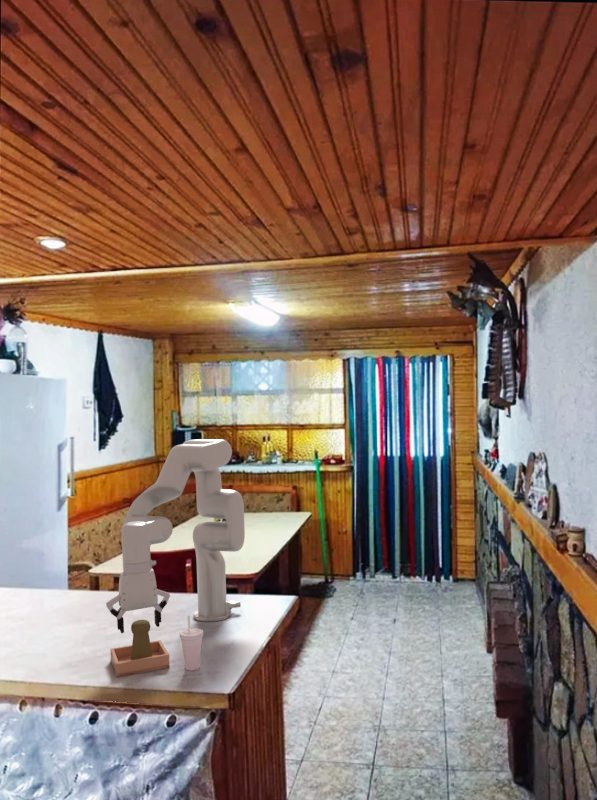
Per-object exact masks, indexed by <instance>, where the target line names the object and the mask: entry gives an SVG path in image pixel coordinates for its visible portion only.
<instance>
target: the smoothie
mask: <svg viewBox="0 0 597 800" xmlns="http://www.w3.org/2000/svg"><path fill="white" fill-rule="evenodd" d="M203 636H204V630H203V629H202V628H198V627H197V628H196V627H191V616H190V615H187V628H186V629H183V630H182V629H181V631H180V632H179V638H180V641H181V642H180V643H181V646H182V647H181V648H182V654H183V661H184V668H185V670H186V671H196V670H199V668H200V664H201V653H202V641H203Z"/></svg>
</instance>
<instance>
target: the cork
mask: <svg viewBox="0 0 597 800" xmlns="http://www.w3.org/2000/svg"><path fill="white" fill-rule="evenodd" d="M130 631H131V633H132V641H131V642H132V644H131V645H132V652H131V660H136V659H141V658H147V657H152V651H151V645H150V642H151V640H150V635H149V633H150V631H151V623H150V621H149V620H147V619H137V620H135V621H133V622H132V624H131V626H130Z"/></svg>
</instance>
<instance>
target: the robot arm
mask: <svg viewBox="0 0 597 800" xmlns="http://www.w3.org/2000/svg"><path fill="white" fill-rule="evenodd" d="M232 452H233V451H232V446H231V444H230V443H229V442H228V441H227V440H226V439H222V438H221V439H219V438H218V439H214V438H211V439H203V438H202V439H201V438H199V439H190V440H189V439H188V440H186V441H183V443H181V444H177V445H174V446H173V447H172V448H171V449H170V450H169V453H168V454H167V457H166V459H165V462H164V464H163V466H162V468H161V471H160V472H159V475H158V477H157V480H156V481H155V483H154V484H151V486H149V487H148V488H146V489H145V490H144V491H143V492H142V493H140V494H139V495H138V496H137V497H136V498H135V499H134V500H133V501H132V503H131V505H130V507H129V509H128V511H127V513H126V516H125V518H124V521H123V523H122V526H121V529H120V531H121V553H122V555H121V557H122V571H121V572H120V574H119V580H118V594H117V595H116V596H114V597H113V598H111V599H110V600H109V601H107V602H105V605H106V608H107V609H108V611H109V612H110V614H111V615H112V616H114V617H115V618H116V619H117V620H116V622H117V623H116V624H117V625H116V626H117V630H119V632H120V633H121V634H124V633H125V627H124V626H125V624H124V623H125V622H124V620H125V619H124V617H123V616H124V614H125V613H126V612H127V611H128V612H130V611H135V610H141V609H147V608H154V624H155V626H156V627H157V628H158V627H160V623H162V612H163V610H164V608H165V607H166V605H168V601H169V599H170V597H171V594H170V592H169V591H168V592H167V591H165V590H161V589H158V588H157V586H158V585H157V580H156V575H155V571H154V569H153V567H154V566H156V565H157V560H153V559H152V558H151V557H152V556H151V546H152V545H157V544H158V545H159V544H162V543H165V542H166V541H168V540H169V539H170V538H171V536H172V535H173V531H174V529H173V527H174V526H173V523H172V522H171V520H170V519H168V518H167V517H164V516H156V515H154V516H153V515H148V514H149V513H150V512H151V511H152V510H153V509H155V508H156V507H159V506H160V505H163V504H165V503H168V502H170V501H173V500H175V499H177V498H179V497H180V496H182V494H183V492H184V490H185V488H186V485H187V483H188V479H189V478H190V475H191V473H194V476H195V477H194V478H195V486H196V487H195V489H196V491H195V492H196V510H197V513H198V515H199V516H201V517H203V518H209V519H210V518H211V519H225V521H214V520H213V521H208V520H207V521H202V522H199V523H197V524H196V525H195V526H194V528H193V531H192V542H193V546H194V551H195V557H196V559H195V560H196V581H197V582H196V585H197V610H195V611H194V612H193V619H195V620H197V621H199V622H208V623H209V622H218V621H223V620H226V619H228V618H230V617H231V616H232V609H234V608H235V609H236V608H241V601H240V600H238V601H235V600H230V601H228V600H227V583H226V581H227V580H226V561H225V558H224V556H223V554H222V552H229V553H230V552H232V553H233V552H234V553H236V552H238V551H240V550H242V548H243V546H244V543H245V535H246V534H245V529H246V528H245V504H244V499H243V496H242V494H241V493H240V492H239V491H238V490H234V489H224V488H223V486H222V484H223V483H222V474H221V471H220V469H219V468H221V467H224V466H226V465H227V464H228V463H229V462H230V460H231V459H232V455H233V453H232ZM158 596H160V597H163V598H162V600H161V601H160V602H159V601H158V599H159V598H158ZM117 603H118V605H119V608H118V609H115V607H114V605H115V604H117Z"/></svg>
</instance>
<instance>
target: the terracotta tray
mask: <svg viewBox="0 0 597 800" xmlns="http://www.w3.org/2000/svg"><path fill="white" fill-rule="evenodd" d="M150 645H151V651H152V657H147V658H141V659H136V660H131V652H132V644H130V645H123V646H118V647H112V648H110V663H111V665H112V668H113V671H114V674H115V677H116V678H120V677H121V678H122V677H125V676H132V675H136V674H137V675H138V674H142V673H147V672H152V671H158V670H162V669H163V670H164V669H169V668H170V654H169V652H168V650H167V649H166V647H165V645H164V643H163V642H162V639H159V640H154V641H150Z"/></svg>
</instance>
